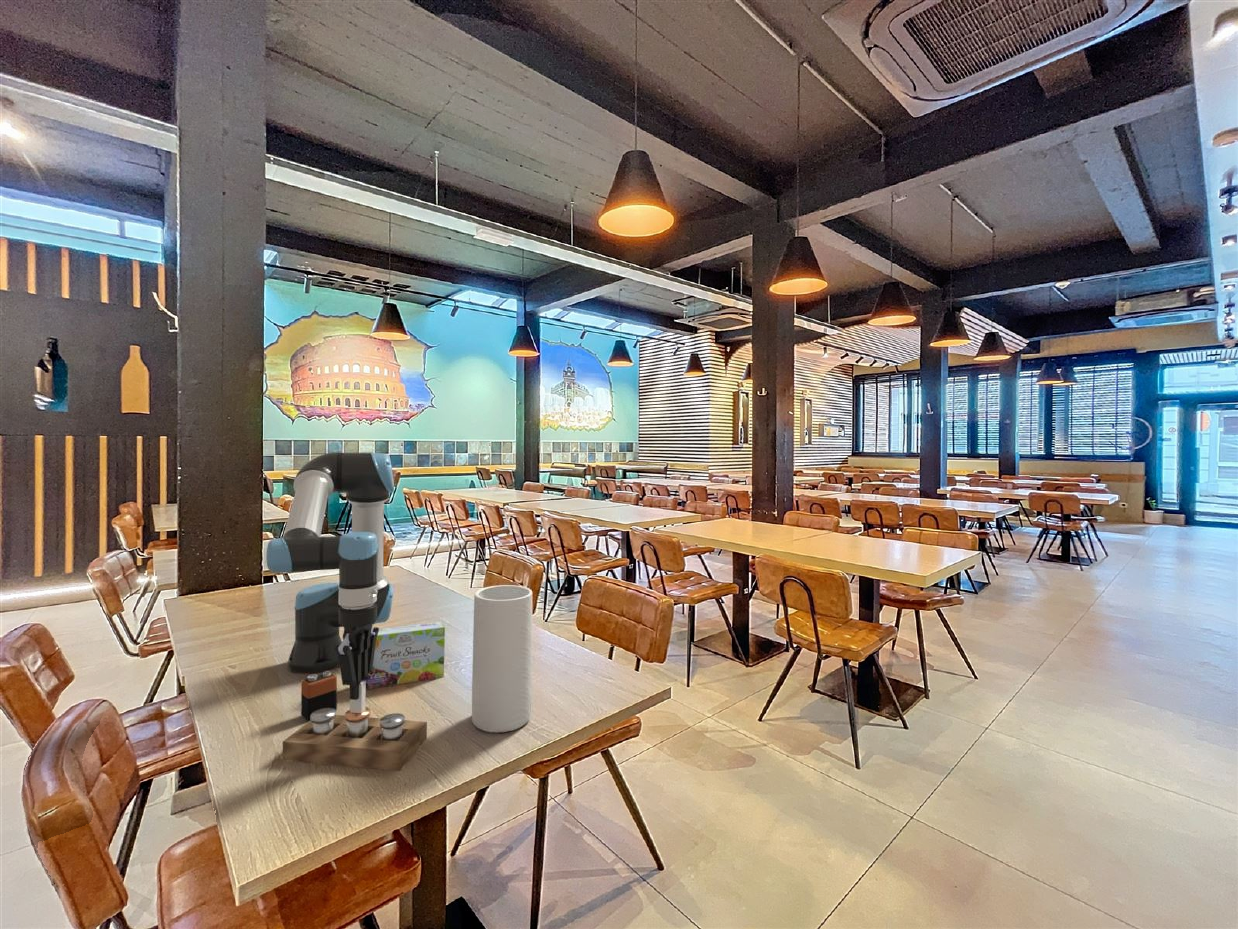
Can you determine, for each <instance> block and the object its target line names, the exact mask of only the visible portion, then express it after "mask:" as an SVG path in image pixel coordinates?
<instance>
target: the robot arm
mask: <svg viewBox="0 0 1238 929" xmlns="http://www.w3.org/2000/svg"><path fill="white" fill-rule="evenodd" d="M391 461H392V460H391V457H390V456H389V455H388V454H387V453H381V452H380V453H378V452H335V451H333V452H327V453H324V454H321V455H318V456H316V457H314V458H312V459H311V460H309V461H308V462H306V463H305V464H304V465H303V466H302V467H300V469H299V470H298V472H297V473H296V475H295V478H294V481H293V485H292V486H293V491H294V492H295V493H294V497H293V500H292V504H291V507H290V511H289V514H288V517H287V522H286V525H285V528H284V532H283V535H282V537H279V538H272V539H271V540H269V542H268V543H267V547H266V554H265V555H266V556H265V558H266V567H267V569H268V571H270V572H271V573H288V574H289V573H290V574H291V573H296V572H299V573H300V572H310V571H311V572H312V571H313V572H314V571H329V570H330V571H331V570H338V577H339V578H338V580H339V581H338V582H324V583H318V584H314V585H311V586H308V587H305V588H302V589H301V590H300V591H298V593H297V594H296V595H295V602H294V603H295V604H294V610H295V611H294V615H295V616H294V622H295V623H294V625H295V626H294V635H295V636H294V639H295V640H294V644H293V646H292V648H291V652H290V654H289V656H288V661H287V665H288V666H287V668H288V670H289V671H290V672H293V673H298V674H299V673H300V674H311V673H319V672H326V671H329V670H332V669H334V668H336V667H338V666H339V671H340V677H341V681H342V682H341V684H342V685H343V686H349V710H350V712H351V713H363V712H364V711H365V707H366V695H367V693H366V691H367V690H366V680H370V678H371V676H368V673H371V672H372V669H373V661H374V653H375V645H376V638H377V635H378V631H379V629H380V628H379V627H377V626H373V625H376V624H381V623H385V622H387V621H388V620H389V618H390V616H391V613H392V612H391V611H392V605H393V598H394V585H393V584H391V583H390V582H389V578H388V577H387V576H385V575H384V525H385V524H384V523H385V522H384V520H385V519H384V514H385V513H384V511H385V510H384V508H385V505H384V504H385V503H386V502H388V500H389V499H390V494H391V493H394V492H395V482H394V473H393V467H392V462H391ZM332 494H345V499H346V500H347V502H349V504H351V532H348V533H344V534H342V535H335V536H334V535H332V536H322V530H323V525H324V518H325V514H326V509H327V503H328V498H329V497H330V496H331V495H332ZM340 628H343V633H342V638H341V636H340Z"/></svg>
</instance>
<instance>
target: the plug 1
mask: <svg viewBox="0 0 1238 929" xmlns="http://www.w3.org/2000/svg"><path fill="white" fill-rule="evenodd" d="M336 715H337V710H335V709H333V708H324V709H319V710H317V711H315V712H313V713H312V714H311V715H310V721H311V722H312V723H313V734H315V735H328V734H329V733H330V732H332V731H333V730H334V718H335V717H336Z"/></svg>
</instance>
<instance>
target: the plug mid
mask: <svg viewBox="0 0 1238 929" xmlns="http://www.w3.org/2000/svg"><path fill="white" fill-rule="evenodd" d="M344 715H345V720H346V721H347V737H351V738H363V737H364V736H365V735H366V734H367V733H368V717H371V708H370V707H367V706H365V711H364V712H363V713H351V712H350V709H348V710H347V711H346V712H345V713H344Z"/></svg>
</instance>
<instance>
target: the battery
mask: <svg viewBox="0 0 1238 929" xmlns="http://www.w3.org/2000/svg"><path fill="white" fill-rule="evenodd" d="M337 677H338V676H337V675H335V674H334V673H332V672H331V671H329V670H325V671H323V673H320V674H316V673H315V674H309V675H307V677H306V678H304V679H302V680H301V681H300V682H301V684H300V685H301V686H300V687H301V690H300V693H301V694H300V696H301V701H300V702H301V703H300V704H301V706H300V707H301V708H300V710H301V712H300V713H301V716H302V717H303V718H304V719H305V720H306V721H308V722H309V721H310V715H311V714H312V713H313V712H315V711H317V710H319V709H324V708H333V709H335V710H336V711H337V709H338V703H337V702H338V698H337V697H338V696H337V695H338V694H337V693H338V684H337V683H338V680H337V679H338V678H337Z"/></svg>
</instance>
